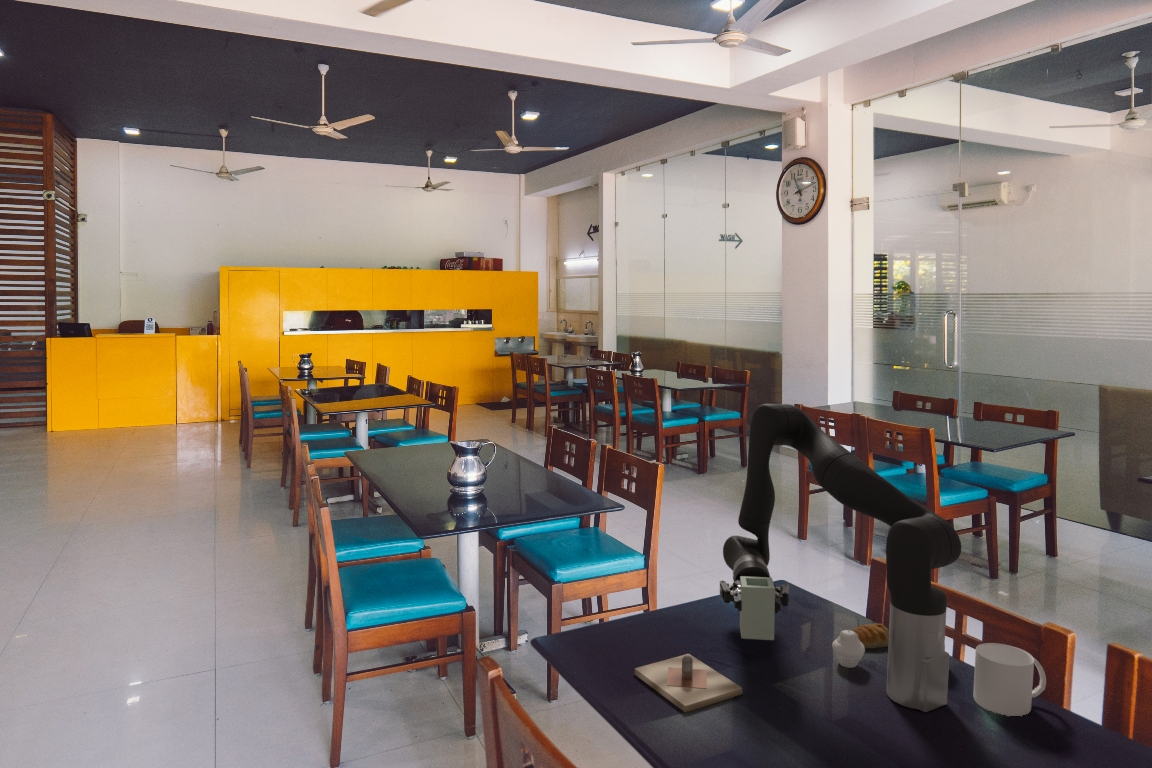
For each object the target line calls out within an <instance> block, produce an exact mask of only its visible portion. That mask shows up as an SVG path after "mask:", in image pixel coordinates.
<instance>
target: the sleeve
mask: <svg viewBox="0 0 1152 768" xmlns="http://www.w3.org/2000/svg"><path fill="white" fill-rule="evenodd" d="M774 584H775V583H774V580H773V577H771V576H770V577H748V576H740V594H741V599H742V611H739V630H740V637H741V639H744V640H761V641H762V640H763V641H774V640H775V614H776V613H775V587H774Z"/></svg>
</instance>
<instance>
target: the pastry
mask: <svg viewBox="0 0 1152 768" xmlns="http://www.w3.org/2000/svg"><path fill="white" fill-rule="evenodd" d="M850 631H854V632H855V633H856V634H857V635H858V639H859V640H860V642H861V643H862V644H863V645H864V647H865V649H877V648H876V647H878V648H884V647H885V648H887V647H888V643H889V628H887V627H886V626H885V625H884V624H883V623H878V622H874V623H872V624H870V623H869V624H867V623H866V624H860V625H858V626H857V627H855V628H852V629H850Z"/></svg>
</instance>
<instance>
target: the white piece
mask: <svg viewBox="0 0 1152 768" xmlns="http://www.w3.org/2000/svg"><path fill="white" fill-rule="evenodd" d="M831 646H832V650H833V653H834V655H835V658H836V659H837V661H838V664H840V666H842V667H845V668H849V669H850V668H851V669H854V668H856V667H857V666H858V664H859V663H860V662H861V659H862V658H863V656H864V654H865V652H866V648H865V647H864V645H863V644H862V643H861V642H860V640H859V639H858V635H857V634H856V633H855V632H854V631H851V629H844V630H841V632H839V636H838V637H837V638H836V639H834V640H833V641H832V645H831Z"/></svg>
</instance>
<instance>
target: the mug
mask: <svg viewBox="0 0 1152 768" xmlns="http://www.w3.org/2000/svg"><path fill="white" fill-rule="evenodd" d="M974 655H975V657H974V674H973V675H974V676H973V679H974V680H973V695H972V696H973V700H974V701H975V703H976V704H977V705H978V706H980V708H982V709H984V710H986V711H988V712H990V711H992V712H991V713H993V712H994V713H993V714H996V713H998V714H997V715H999V714H1001V715H1000V716H1003V715H1006V716H1005V717H1010V716H1020V717H1023V715H1025V716H1026V714H1027V715H1028V714H1029V713H1030V712H1031V710H1032V700H1033V698H1036V697H1038V696H1039V695H1041V693H1043V692H1044V691H1045V690H1046V686H1047V677H1046V672H1045V670H1044V667H1043V666H1042V665H1041V663H1040V662H1039V661H1038V660H1037V659H1036V658H1035V657H1033V655H1032V654H1031V653H1030V652H1027V651H1026V650H1024V649H1022V648H1019V647H1016V646H1013V645H1009V644H1004V643H996V642H985V643H980V644H978V645H977V646H976V647H975V654H974ZM1034 667H1036V669H1037V671H1038V674H1039V683H1038V685H1037V686H1036V687H1034V689H1033V683H1034V671H1035V669H1034Z"/></svg>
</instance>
